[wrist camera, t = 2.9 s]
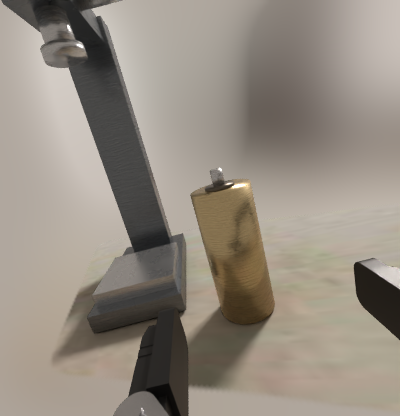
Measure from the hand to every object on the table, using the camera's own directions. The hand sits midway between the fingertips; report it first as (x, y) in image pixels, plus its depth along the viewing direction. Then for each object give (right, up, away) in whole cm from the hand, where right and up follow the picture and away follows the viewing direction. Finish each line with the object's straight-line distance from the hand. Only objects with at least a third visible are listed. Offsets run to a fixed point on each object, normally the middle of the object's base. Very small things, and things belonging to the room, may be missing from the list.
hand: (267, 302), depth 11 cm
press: (-6, -5, +23) cm, 24 cm away
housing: (+2, -5, +13) cm, 14 cm away
